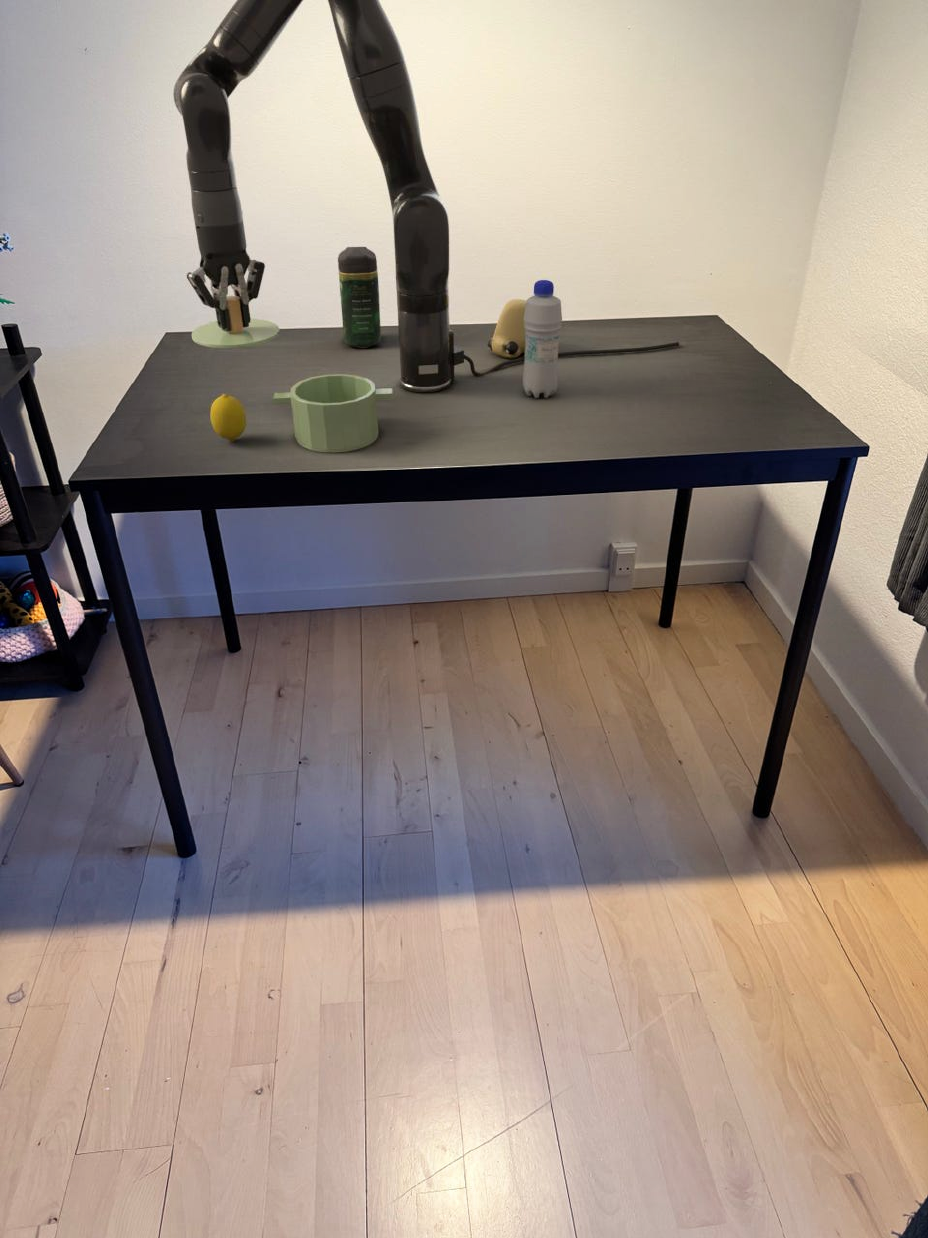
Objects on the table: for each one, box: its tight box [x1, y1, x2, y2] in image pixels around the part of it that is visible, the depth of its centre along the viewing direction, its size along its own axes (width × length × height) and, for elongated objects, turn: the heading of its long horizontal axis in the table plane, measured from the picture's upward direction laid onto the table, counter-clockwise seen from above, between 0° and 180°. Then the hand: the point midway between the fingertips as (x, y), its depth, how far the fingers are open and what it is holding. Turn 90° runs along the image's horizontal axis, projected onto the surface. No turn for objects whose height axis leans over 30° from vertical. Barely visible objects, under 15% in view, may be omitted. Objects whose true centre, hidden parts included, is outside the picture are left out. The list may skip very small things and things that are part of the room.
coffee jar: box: [337, 246, 382, 349], centre depth 182 cm, size 10×8×19 cm
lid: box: [191, 295, 280, 349], centre depth 150 cm, size 15×15×7 cm
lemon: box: [209, 393, 247, 442], centre depth 143 cm, size 6×6×8 cm
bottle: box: [522, 279, 563, 399], centre depth 156 cm, size 7×7×20 cm
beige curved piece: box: [487, 298, 527, 359], centre depth 178 cm, size 10×12×11 cm
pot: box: [273, 373, 394, 454], centre depth 145 cm, size 14×19×8 cm
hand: (235, 327), depth 151 cm, fingers closed on lid, 3 cm apart
